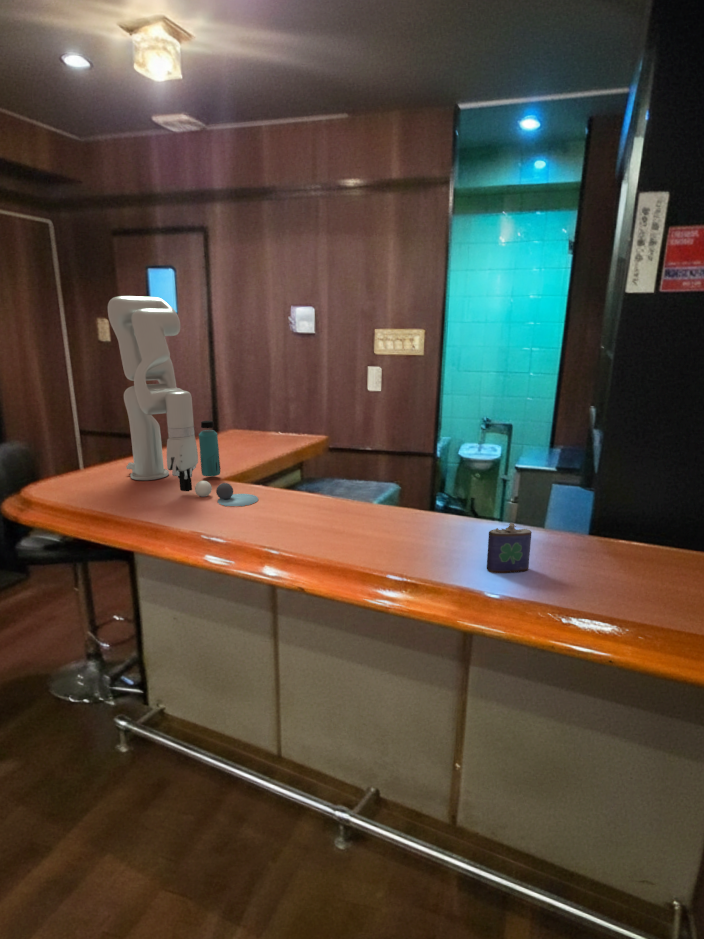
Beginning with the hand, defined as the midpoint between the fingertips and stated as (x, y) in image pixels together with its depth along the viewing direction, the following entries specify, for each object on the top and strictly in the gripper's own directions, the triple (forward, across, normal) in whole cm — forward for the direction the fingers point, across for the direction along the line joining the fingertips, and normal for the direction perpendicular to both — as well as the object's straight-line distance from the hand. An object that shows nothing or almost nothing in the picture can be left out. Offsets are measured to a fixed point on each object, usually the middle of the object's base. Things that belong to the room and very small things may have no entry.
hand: (186, 490), depth 166 cm
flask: (+2, +25, +97) cm, 100 cm away
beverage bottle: (+2, -19, -3) cm, 19 cm away
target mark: (+2, 0, +18) cm, 18 cm away
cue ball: (-1, 0, +6) cm, 6 cm away
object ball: (-1, 0, +14) cm, 14 cm away
